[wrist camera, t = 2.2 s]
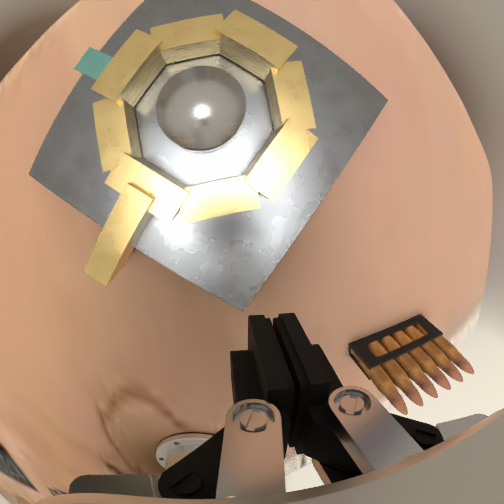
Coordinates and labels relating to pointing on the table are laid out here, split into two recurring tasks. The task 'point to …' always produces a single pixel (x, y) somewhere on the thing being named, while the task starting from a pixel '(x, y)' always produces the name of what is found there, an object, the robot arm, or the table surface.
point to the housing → (212, 146)
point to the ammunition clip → (408, 360)
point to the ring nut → (159, 182)
